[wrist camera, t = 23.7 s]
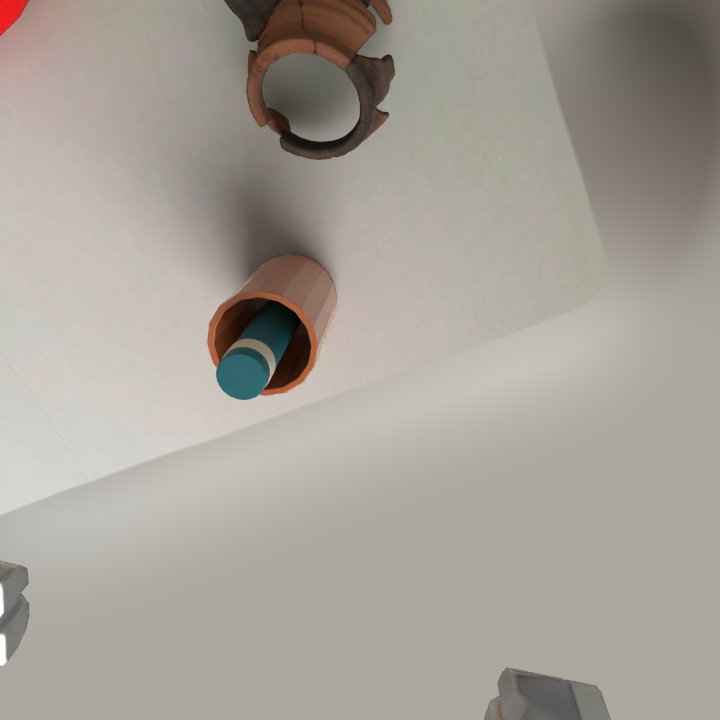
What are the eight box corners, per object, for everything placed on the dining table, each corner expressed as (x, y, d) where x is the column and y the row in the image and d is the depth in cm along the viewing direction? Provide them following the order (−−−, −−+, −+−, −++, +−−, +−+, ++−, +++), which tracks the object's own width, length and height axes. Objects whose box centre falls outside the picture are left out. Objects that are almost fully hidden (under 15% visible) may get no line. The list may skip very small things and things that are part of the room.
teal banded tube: (313, 285, 42) (270, 358, 29) (307, 320, 43) (263, 406, 30) (276, 278, 42) (217, 347, 29) (271, 313, 43) (212, 395, 30)
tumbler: (344, 264, 42) (325, 304, 33) (328, 346, 45) (307, 405, 35) (256, 245, 42) (213, 280, 33) (245, 328, 45) (202, 382, 35)
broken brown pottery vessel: (437, 30, 37) (423, 99, 32) (347, 131, 43) (323, 201, 38) (276, -129, 32) (229, -77, 27) (201, 11, 38) (153, 74, 33)
